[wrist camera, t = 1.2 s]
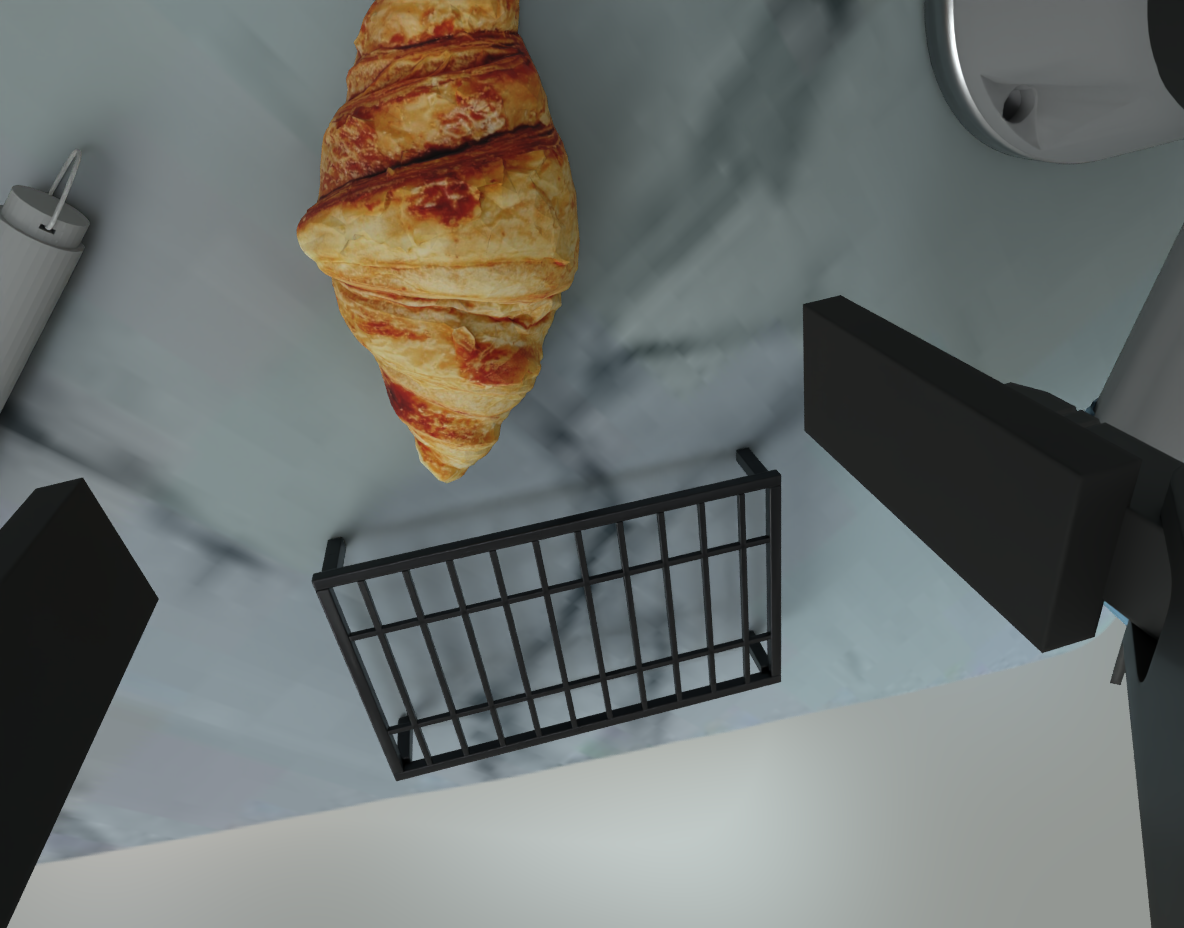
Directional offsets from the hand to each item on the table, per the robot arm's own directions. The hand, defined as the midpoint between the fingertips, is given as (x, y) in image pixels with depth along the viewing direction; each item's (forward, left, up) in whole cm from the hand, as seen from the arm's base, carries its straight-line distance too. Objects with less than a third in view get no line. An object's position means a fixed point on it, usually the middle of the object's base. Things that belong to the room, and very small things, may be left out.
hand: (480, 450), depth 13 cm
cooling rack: (-2, +20, -19) cm, 27 cm away
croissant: (0, 0, -19) cm, 19 cm away
